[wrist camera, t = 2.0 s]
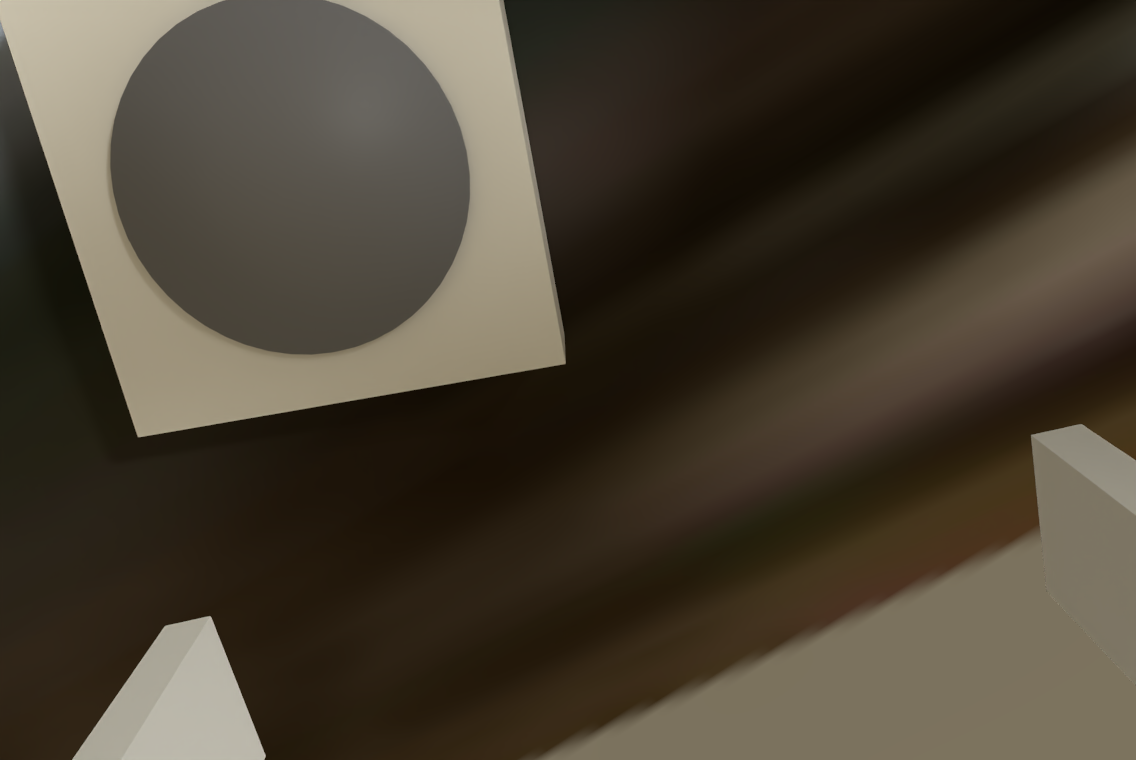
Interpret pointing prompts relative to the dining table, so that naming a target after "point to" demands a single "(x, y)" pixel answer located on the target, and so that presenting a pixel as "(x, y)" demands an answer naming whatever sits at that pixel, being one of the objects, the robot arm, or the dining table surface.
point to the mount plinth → (292, 196)
